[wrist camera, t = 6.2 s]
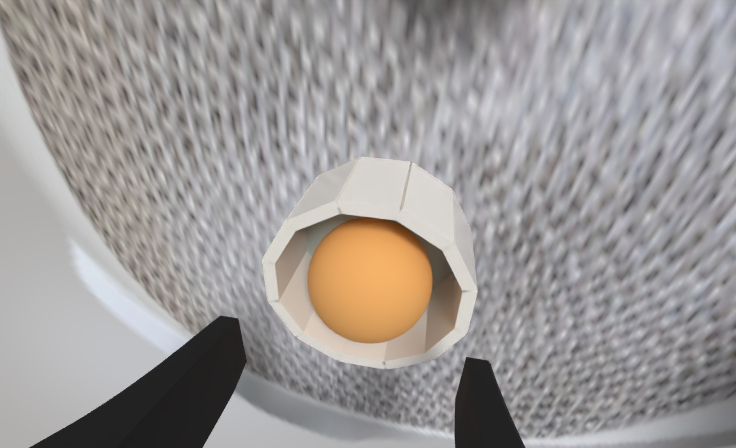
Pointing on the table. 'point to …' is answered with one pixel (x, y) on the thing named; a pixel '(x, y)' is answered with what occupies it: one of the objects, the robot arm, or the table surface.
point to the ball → (370, 280)
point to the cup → (385, 201)
